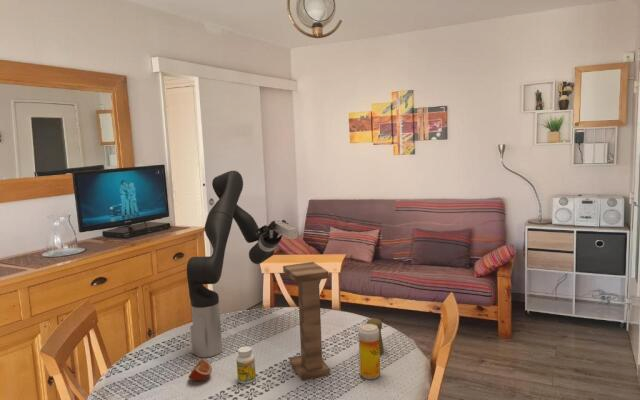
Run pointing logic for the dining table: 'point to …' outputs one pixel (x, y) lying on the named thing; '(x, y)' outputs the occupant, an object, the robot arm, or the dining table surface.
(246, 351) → the supplement bottle
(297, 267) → the walnut stand
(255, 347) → the dining table surface
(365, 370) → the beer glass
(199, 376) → the fruit slice
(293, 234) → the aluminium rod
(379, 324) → the cork
